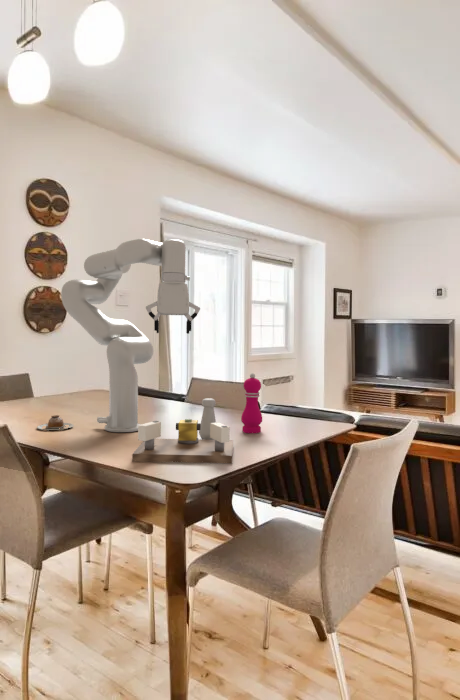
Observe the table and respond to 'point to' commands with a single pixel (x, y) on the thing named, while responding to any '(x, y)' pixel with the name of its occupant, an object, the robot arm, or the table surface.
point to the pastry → (55, 424)
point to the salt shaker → (207, 418)
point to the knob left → (149, 433)
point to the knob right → (219, 435)
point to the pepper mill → (252, 406)
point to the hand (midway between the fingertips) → (172, 333)
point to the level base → (185, 447)
